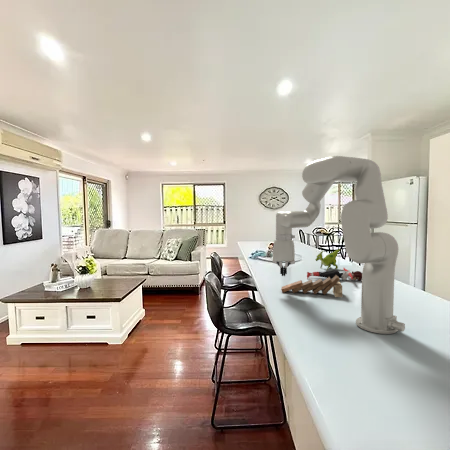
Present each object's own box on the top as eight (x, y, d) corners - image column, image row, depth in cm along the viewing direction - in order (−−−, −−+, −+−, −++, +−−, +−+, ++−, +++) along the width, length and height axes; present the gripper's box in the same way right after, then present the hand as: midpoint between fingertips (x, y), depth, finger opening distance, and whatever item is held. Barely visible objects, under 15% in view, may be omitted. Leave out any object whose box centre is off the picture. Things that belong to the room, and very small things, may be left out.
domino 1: (283, 289, 143) (302, 283, 141) (282, 292, 138) (302, 285, 136) (281, 286, 143) (301, 280, 141) (281, 289, 138) (301, 282, 136)
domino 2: (293, 290, 142) (312, 282, 139) (293, 293, 137) (313, 285, 135) (292, 287, 142) (311, 279, 140) (291, 290, 137) (311, 282, 135)
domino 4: (314, 291, 139) (331, 279, 137) (314, 294, 135) (332, 282, 132) (311, 289, 140) (329, 276, 137) (312, 291, 135) (330, 279, 133)
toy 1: (318, 275, 195) (310, 256, 192) (339, 257, 203) (331, 239, 199) (327, 277, 188) (319, 258, 184) (349, 259, 195) (341, 240, 191)
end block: (339, 292, 138) (339, 281, 138) (342, 297, 130) (342, 286, 130) (333, 292, 139) (333, 281, 139) (335, 296, 131) (335, 285, 131)
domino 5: (323, 292, 138) (338, 277, 136) (324, 295, 134) (340, 279, 132) (321, 289, 139) (336, 274, 137) (321, 292, 134) (337, 277, 132)
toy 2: (308, 284, 154) (370, 287, 147) (308, 274, 153) (370, 276, 147) (305, 273, 181) (357, 275, 174) (305, 264, 180) (357, 266, 174)
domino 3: (303, 291, 141) (322, 281, 138) (304, 293, 136) (323, 283, 133) (302, 288, 141) (320, 278, 138) (302, 290, 136) (321, 280, 134)
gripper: (299, 237, 141) (299, 274, 142) (268, 236, 145) (268, 273, 146) (300, 238, 134) (299, 278, 135) (267, 237, 137) (267, 276, 138)
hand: (283, 275), depth 140 cm, fingers closed
